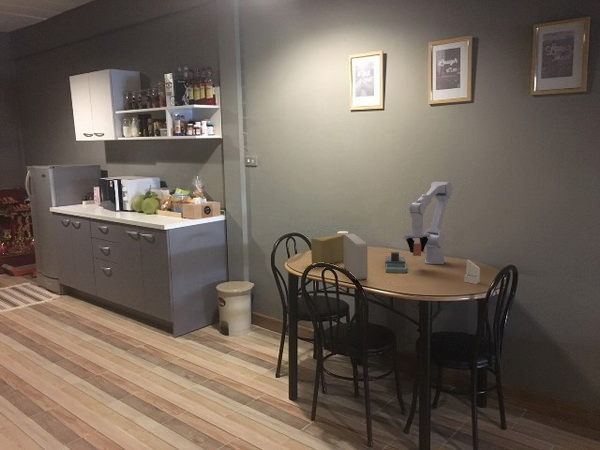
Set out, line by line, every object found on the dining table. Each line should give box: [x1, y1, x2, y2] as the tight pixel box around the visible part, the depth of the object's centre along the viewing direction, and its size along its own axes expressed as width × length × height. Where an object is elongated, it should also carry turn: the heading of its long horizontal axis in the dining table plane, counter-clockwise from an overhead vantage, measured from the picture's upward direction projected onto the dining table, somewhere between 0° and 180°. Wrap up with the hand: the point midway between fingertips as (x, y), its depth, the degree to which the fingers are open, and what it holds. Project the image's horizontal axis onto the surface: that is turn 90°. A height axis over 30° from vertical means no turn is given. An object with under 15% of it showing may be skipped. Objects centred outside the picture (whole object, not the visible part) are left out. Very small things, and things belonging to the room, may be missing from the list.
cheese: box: [310, 234, 344, 265], centre depth 277 cm, size 22×10×15 cm, turn 126°
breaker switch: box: [390, 251, 400, 261], centre depth 266 cm, size 4×3×4 cm
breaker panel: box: [384, 256, 406, 268], centre depth 270 cm, size 10×11×4 cm
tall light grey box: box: [343, 233, 369, 281], centre depth 254 cm, size 29×8×18 cm, turn 8°
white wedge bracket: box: [463, 258, 481, 285], centre depth 235 cm, size 4×10×9 cm, turn 44°
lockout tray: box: [385, 263, 408, 274], centre depth 259 cm, size 10×10×2 cm
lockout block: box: [412, 242, 422, 257], centre depth 260 cm, size 4×4×6 cm
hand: (416, 251), depth 260 cm, fingers closed on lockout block, 5 cm apart
